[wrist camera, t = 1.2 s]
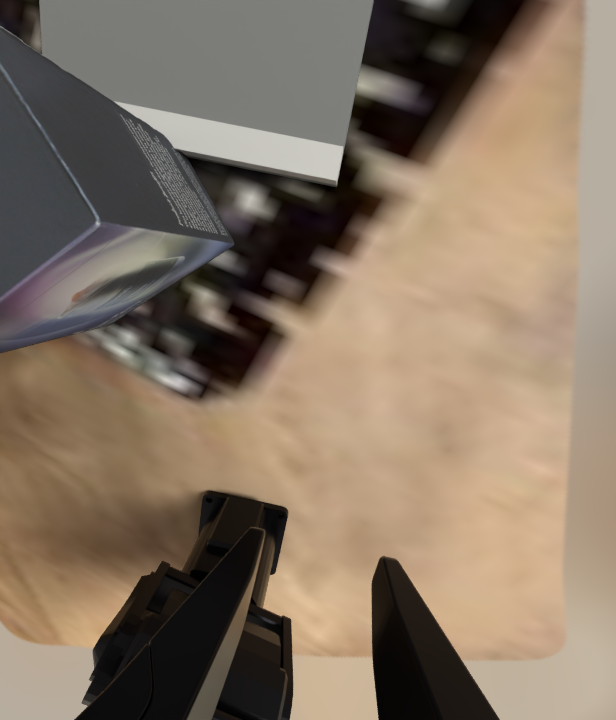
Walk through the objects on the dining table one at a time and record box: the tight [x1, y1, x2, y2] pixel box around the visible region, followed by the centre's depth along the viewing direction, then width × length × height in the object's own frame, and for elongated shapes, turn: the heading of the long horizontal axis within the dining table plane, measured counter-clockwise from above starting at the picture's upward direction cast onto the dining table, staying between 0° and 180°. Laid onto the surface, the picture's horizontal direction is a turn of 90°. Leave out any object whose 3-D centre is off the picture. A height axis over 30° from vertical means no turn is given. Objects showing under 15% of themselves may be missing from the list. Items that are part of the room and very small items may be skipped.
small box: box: [0, 26, 234, 353], centre depth 14 cm, size 11×6×10 cm, turn 119°
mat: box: [39, 0, 374, 187], centre depth 15 cm, size 11×16×2 cm
